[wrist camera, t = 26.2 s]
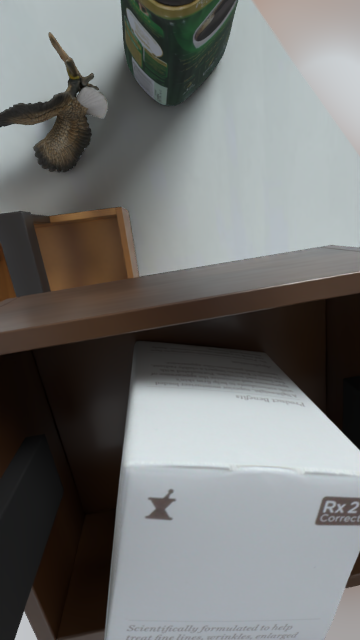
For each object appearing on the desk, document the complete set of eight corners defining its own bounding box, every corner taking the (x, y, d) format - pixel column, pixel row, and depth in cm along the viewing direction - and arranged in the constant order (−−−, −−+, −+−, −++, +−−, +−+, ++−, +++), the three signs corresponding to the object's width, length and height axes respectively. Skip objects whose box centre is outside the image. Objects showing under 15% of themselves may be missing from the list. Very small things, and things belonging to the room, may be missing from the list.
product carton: (122, 454, 14) (95, 668, 7) (135, 335, 13) (116, 466, 6) (243, 460, 15) (322, 659, 8) (270, 350, 14) (398, 479, 7)
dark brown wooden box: (78, 515, 16) (43, 654, 11) (5, 298, 12) (-100, 349, 7) (331, 465, 17) (414, 574, 11) (331, 244, 13) (453, 255, 8)
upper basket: (32, 328, 37) (-38, 383, 24) (3, 227, 33) (-98, 226, 20) (146, 313, 37) (138, 359, 24) (129, 211, 34) (109, 199, 21)
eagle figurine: (38, 41, 28) (-18, 121, 28) (61, 21, 23) (-6, 118, 23) (100, 114, 33) (54, 181, 33) (130, 110, 28) (76, 189, 29)
